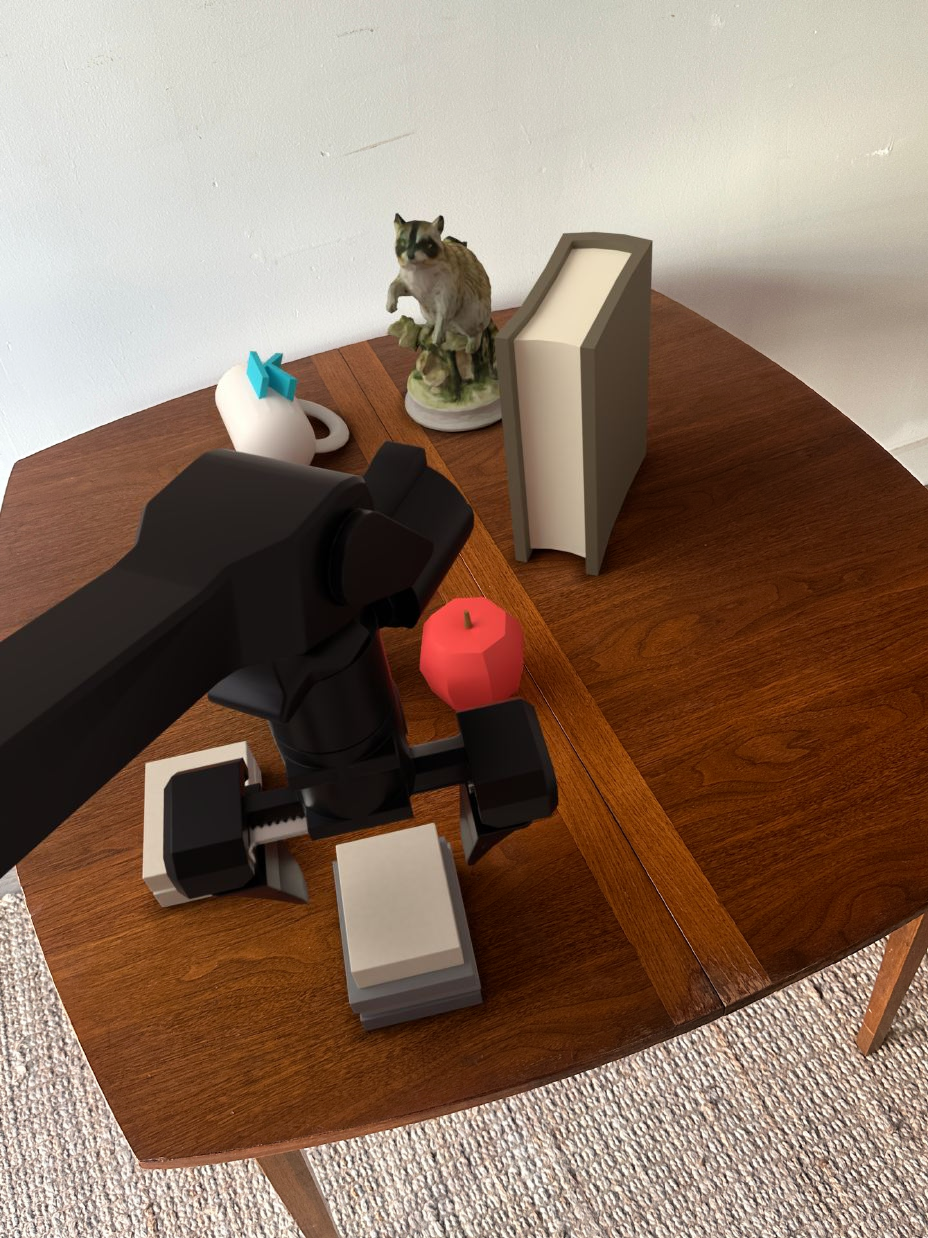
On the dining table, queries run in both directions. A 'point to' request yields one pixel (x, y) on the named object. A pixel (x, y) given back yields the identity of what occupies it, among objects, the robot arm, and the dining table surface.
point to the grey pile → (420, 990)
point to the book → (576, 393)
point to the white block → (397, 906)
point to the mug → (273, 413)
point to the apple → (472, 653)
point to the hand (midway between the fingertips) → (387, 877)
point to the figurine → (445, 329)
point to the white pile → (154, 805)
